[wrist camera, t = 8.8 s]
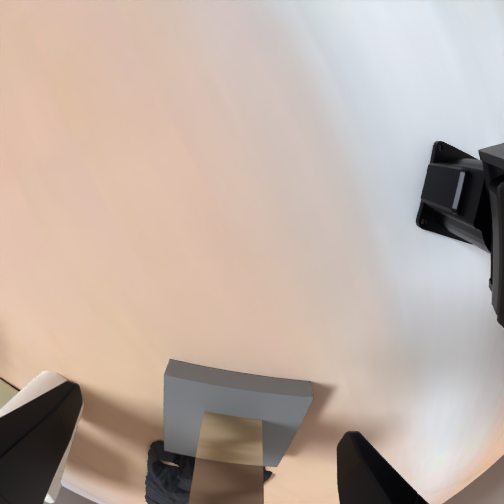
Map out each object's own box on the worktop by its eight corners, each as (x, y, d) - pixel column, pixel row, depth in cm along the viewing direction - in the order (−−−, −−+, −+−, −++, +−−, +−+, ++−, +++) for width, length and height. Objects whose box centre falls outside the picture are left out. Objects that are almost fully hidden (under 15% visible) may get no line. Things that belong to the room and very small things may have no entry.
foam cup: (97, 429, 27) (61, 511, 15) (36, 398, 27) (-9, 468, 14) (94, 381, 25) (39, 480, 12) (24, 346, 24) (-41, 422, 11)
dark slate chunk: (134, 488, 34) (128, 509, 29) (156, 429, 27) (146, 462, 23) (221, 511, 36) (220, 533, 31) (281, 462, 29) (283, 494, 25)
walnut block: (263, 466, 18) (263, 521, 13) (250, 490, 20) (249, 536, 15) (196, 457, 18) (187, 512, 13) (193, 482, 19) (185, 529, 15)
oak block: (262, 419, 23) (262, 466, 18) (250, 448, 24) (250, 490, 20) (203, 411, 22) (195, 457, 18) (199, 441, 24) (192, 482, 19)
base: (310, 381, 24) (313, 397, 22) (276, 453, 27) (277, 466, 26) (169, 359, 23) (164, 374, 21) (167, 436, 27) (164, 450, 25)
